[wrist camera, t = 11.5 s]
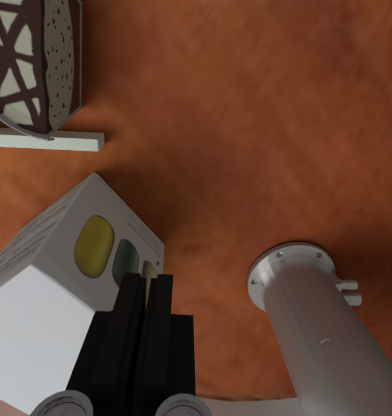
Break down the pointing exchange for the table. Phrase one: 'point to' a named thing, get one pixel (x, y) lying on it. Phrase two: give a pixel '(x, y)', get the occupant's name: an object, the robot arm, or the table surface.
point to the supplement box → (65, 285)
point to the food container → (40, 64)
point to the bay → (61, 142)
